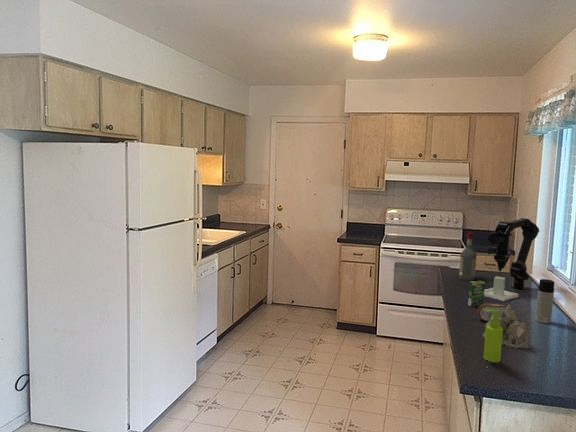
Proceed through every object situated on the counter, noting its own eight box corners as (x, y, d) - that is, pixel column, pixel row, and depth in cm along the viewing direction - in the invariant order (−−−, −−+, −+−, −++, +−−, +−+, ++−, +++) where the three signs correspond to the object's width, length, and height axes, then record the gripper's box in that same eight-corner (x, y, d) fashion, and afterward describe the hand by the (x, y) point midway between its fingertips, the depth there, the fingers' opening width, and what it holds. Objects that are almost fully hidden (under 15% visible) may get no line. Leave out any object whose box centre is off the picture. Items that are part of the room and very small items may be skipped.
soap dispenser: (477, 357, 185) (482, 307, 183) (495, 357, 186) (499, 307, 184) (485, 364, 180) (489, 312, 177) (503, 364, 180) (507, 312, 178)
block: (494, 293, 277) (495, 276, 276) (503, 295, 275) (505, 277, 274) (492, 295, 273) (494, 278, 272) (502, 296, 271) (503, 279, 269)
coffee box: (470, 307, 251) (472, 282, 249) (467, 305, 254) (468, 281, 252) (483, 306, 253) (485, 281, 252) (479, 304, 256) (481, 280, 255)
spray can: (549, 320, 234) (553, 279, 232) (552, 324, 228) (556, 283, 225) (534, 318, 236) (538, 278, 234) (536, 322, 230) (540, 281, 227)
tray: (492, 290, 285) (493, 287, 284) (518, 297, 273) (518, 293, 272) (478, 294, 276) (478, 291, 275) (503, 301, 263) (504, 297, 263)
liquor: (474, 278, 314) (478, 232, 311) (473, 281, 306) (477, 234, 303) (459, 276, 318) (463, 231, 315) (458, 279, 310) (462, 233, 306)
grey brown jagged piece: (478, 333, 211) (483, 301, 209) (515, 336, 212) (520, 303, 209) (493, 350, 196) (498, 315, 193) (533, 352, 196) (539, 317, 194)
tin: (508, 321, 230) (510, 304, 229) (511, 323, 227) (512, 306, 226) (476, 319, 232) (477, 302, 231) (478, 321, 229) (479, 304, 228)
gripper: (491, 239, 293) (489, 265, 295) (485, 243, 277) (483, 270, 279) (511, 242, 287) (509, 267, 289) (506, 246, 271) (504, 273, 273)
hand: (501, 269), depth 282 cm, fingers open, 9 cm apart
